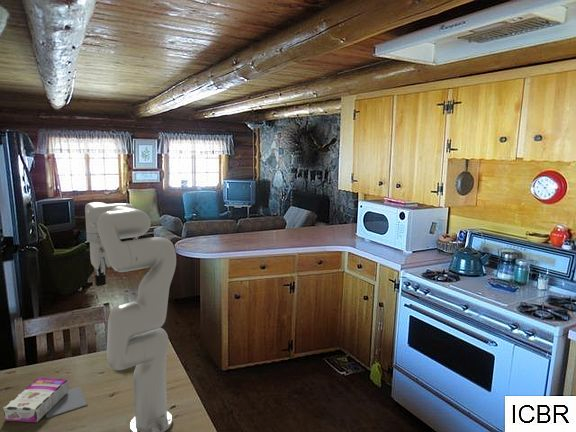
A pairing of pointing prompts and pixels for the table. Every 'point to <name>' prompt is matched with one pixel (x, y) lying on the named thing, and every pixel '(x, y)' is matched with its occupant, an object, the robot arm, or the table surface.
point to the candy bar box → (36, 400)
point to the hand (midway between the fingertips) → (100, 284)
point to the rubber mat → (68, 402)
